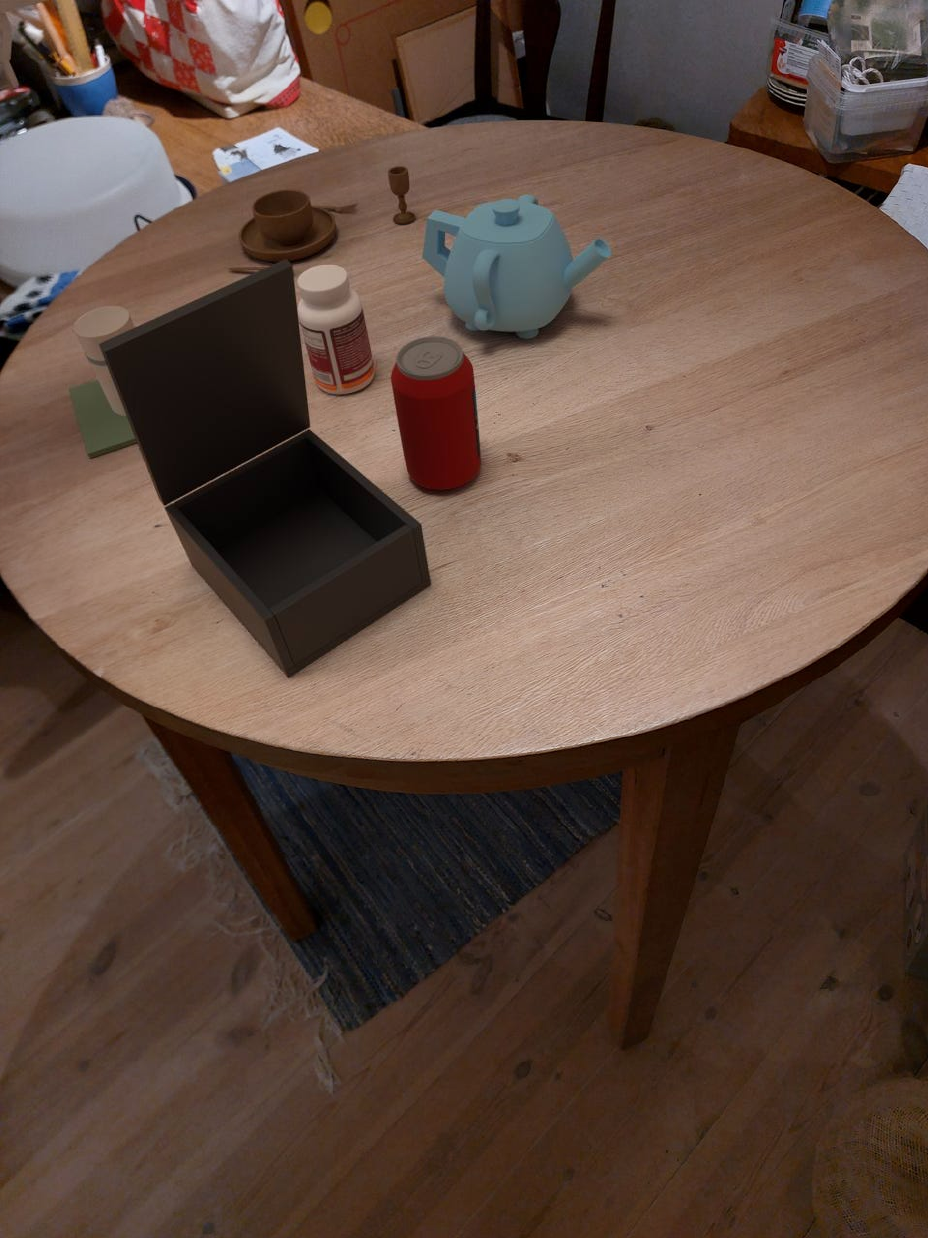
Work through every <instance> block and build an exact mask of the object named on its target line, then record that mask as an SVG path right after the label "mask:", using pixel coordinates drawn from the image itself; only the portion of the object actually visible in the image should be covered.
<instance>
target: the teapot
mask: <svg viewBox="0 0 928 1238" xmlns="http://www.w3.org/2000/svg"><path fill="white" fill-rule="evenodd" d="M446 234H448V235H451V236H453V237H455V238H454V241H453V243H452V246H451V248H450V249H449V248H448V247H447V246H446ZM611 256H612V249H611V247H610V245H609V243H608V242H607V241H606V240H604V239H603V238H601V237H596V238H594V239H593V241H592V242H590V244H588V245H587V246H586V247H585V248H584V249H583V250H582V251H581V252H580V253H579V254H578V255H577V256H576V257H573V253H572V249H571V245H570V242H569V240H568V239H567V236H566V234H565V231H564V230H563V228H562V226H561V223H560V222H559V221H558V219H557V218H556V216H555V214H554V213H553V211H552V210H550V209H549V208H547V207H545V206H542V205H539V200H538V199H537V197H536V196H535V195H532V194H522V195H521V196H519V197H518V198H517V199H514V198H501V199H499V200H496V201H489V202H484V203H481V204H479V205H478V206H476V207H475V208H474V209H472V210H471V211H470V212H469V213H468V215H467V216H466V217H465V216H461V215H457V214H453V213H449V212H445V211H441V210H438V209H434V211H432V212H431V214H430V215H429V216H428V217H427V219H426V226H425V235H424V242H423V249H422V256H421V258H422V259H423V260H424V261H425V262H427V264H429V265H430V267H432V268H433V270H435V271H436V272H437V273H438V274H439V275H441V276H442V277H443V294H444V300H445V302H446V304H447V306H448V308H449V309H450V310H451V311H452V313H454V315H455V316H456V317H458V318H459V319H460V320H461V321H463V322H465V328H466V329H467V330H469V331H473V332H476V331H477V332H478V331H488V330H489V331H494V332H506V333H507V332H511V333H512V332H515V334H516V336H517V337H518V338H520V339H532V338H536V336H538V334H539V332H540V331H539V329H541V328H543V327H546V325H548V324H550V323H551V322H553V320H554V319H555V318H556V317H557V316H558V315H559V313H560V312H561V310H562V309H563V308H564V306H565V305H566V303H567V302H568V300H569V298H570V297H571V295H572V292H573V289H574V288H575V287H576V286H578V285H579V284H580V283H581V282H583V280H585V279H586V278H587V277H588V276H589V275H590V274H592V273H593V272H594V271H595V270H597V269H598V268H599V267H600V266H601V265H603V263H605V262H606V261H607V260H608V259H610V258H611Z"/></svg>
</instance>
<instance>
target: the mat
mask: <svg viewBox="0 0 928 1238" xmlns="http://www.w3.org/2000/svg"><path fill="white" fill-rule="evenodd" d="M68 391H69V392H68V393H69V395H70V398H71V402H72V406H73V409H74V412H75V416H76V419H77V423H78V428H79V430H80V433H81V437H82V441H83V444H84V447H85V452H86V455H87V457H88V458H89V459H93V458H96V457H99V456H103V455H105V454H108V453H111V452H114V451H116V450H120V449H123V448H126V447H128V446H131V445H134V444H137V441H136V439H135V436H134V433H133V431H132V428H131V426H130V423H129V421H128V418H127V416H121V415H118V414H116V413H115V412H114V411H113V410H112V408H111V406H110V404H109V402H108V400H107V398H106V395H105V393H104V391H103V389H102V387H101V385H100V383H99V381H98V379H94V380H92V381H88V382H86V383H85V382H84V383H82V384H79V385H76V386H72V387H70V388H68Z"/></svg>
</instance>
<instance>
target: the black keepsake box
mask: <svg viewBox="0 0 928 1238" xmlns="http://www.w3.org/2000/svg"><path fill="white" fill-rule="evenodd" d="M164 510H165V512H166V515H167V517H168V519H169V521H170V523H171V525H172V527H173V529H174V531H175V533H176V535H177V537H178V539H179V542H180V543H181V546H182V548H183V550H184V553H185V554H186V557H187V558H188V561H189V563H190V565H191V567H192V568H193V569H194V570H195V572H196V573H197V574H198V575H199V576H200V577H201V579H203V581H204V582H205V583H206V584H207V586H209V588H210V589H211V590H212V591H213V592H214V593H215V595H216V596H217V597H218V598H219V600H220V601H221V602H222V603H223V604H224V605H225V606H226V607H227V609H228V610H229V611H230V612H231V613H232V614H233V616H234V617H235V618H236V619H237V620H238V621H239V623H240V624H241V625H242V626H243V627H244V629H245V630H246V631H247V632H248V633H249V634H250V635H251V637H252V638H253V639H254V640H255V641H256V642H257V643H258V645H259V646H260V647H261V649H263V650H264V652H265V653H266V654H267V655H268V656H269V657H270V659H271V660H272V661H273V662H274V663H275V664H276V666H277V667H278V668H279V669H280V671H282V672H283V674H284V675H285V676H286V677H287V678H291V677H292V676H294V675H295V674H297V673H298V672H299V671H301V670H303V669H305V668H306V667H307V666H309V665H310V664H312V663H313V662H315V661H317V660H318V659H320V658H321V657H322V656H325V655H326V654H327V653H328V652H330V651H332V650H333V649H335V648H337V647H338V646H339V645H341V644H343V643H344V642H345V641H347V640H348V639H350V638H352V637H354V635H356V634H358V633H359V632H360V631H363V630H364V629H365V628H367V627H369V626H371V625H372V624H373V623H375V622H376V621H377V620H379V619H381V618H382V617H384V616H385V615H387V614H388V613H390V612H391V611H393V610H394V609H396V608H397V607H399V606H401V605H402V604H404V603H405V602H406V601H409V600H410V599H412V598H413V597H414V596H416V595H418V594H419V593H421V592H422V591H424V590H425V589H427V588H428V587H430V586H431V585H432V580H431V574H430V569H429V562H428V556H427V551H426V546H425V545H426V544H425V539H424V533H423V526H422V523H421V522H420V521H418V520H417V519H416V518H415V517H413V515H411V514H410V513H409V511H406V509H404V508H403V507H402V506H401V505H400V504H399V503H397V502H396V501H395V500H394V499H393V498H391V497H390V496H389V495H388V494H387V493H386V492H384V491H383V490H382V489H381V488H379V487H378V486H377V485H376V484H375V483H374V482H372V481H371V480H370V479H369V478H367V476H366V475H364V474H363V473H362V472H360V470H358V469H357V468H356V467H355V466H354V465H352V464H351V462H349V461H348V460H346V459H345V457H343V456H342V455H341V454H339V453H338V452H337V450H335V449H334V448H333V447H332V446H330V445H329V443H326V441H324V440H323V439H322V438H320V436H318V435H317V434H316V433H315V432H314V431H313V430H312V429H310V428H308V429H306V430H304V431H302V432H301V433H299V434H297V435H295V436H293V437H291V438H289V439H288V440H286V441H284V442H282V443H280V444H278V445H277V446H275V447H273V448H271V449H269V450H267V451H265V452H264V453H262V454H260V455H258V456H256V457H254V458H252V459H251V460H249V461H247V462H245V463H243V464H241V465H240V466H238V467H236V468H234V469H232V470H230V471H228V472H227V473H225V474H223V475H221V476H219V477H217V478H215V479H214V480H212V481H210V482H208V483H206V484H204V485H203V486H201V487H199V488H197V489H195V490H193V491H191V492H190V493H188V494H186V495H184V496H182V497H180V498H178V499H177V500H175V501H173V502H171V503H169V504H167V505H166V506H164Z"/></svg>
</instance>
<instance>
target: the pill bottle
mask: <svg viewBox="0 0 928 1238" xmlns="http://www.w3.org/2000/svg"><path fill="white" fill-rule="evenodd" d="M350 285H351V284H350V279H349V275H348V272H347V270H346V269H345V268H343V267H342V266H340V265H336V264H322V265H315V266H312V267H310V268H308V269H305V270H304V271H303V272H302V273H301V274H300V275H299V276H298V278H297V288H298V292H299V295H300V297H301V299H300V300H299V302H298V303H297V311H298V320H299V327H300V329H301V333H302V336H303V341H304V344H305V348H306V352H307V356H308V359H309V363H310V366H311V367H310V368H311V371H312V375H313V378H314V381H315V383H316V385H317V387H318V388H319V389H321V390H322V391H323V392H325V393H328V394H330V395H349V394H353V393H355V392H358V391H361V390H363V389H364V388H366V387H367V386H368V385H369V384H370V383H371V382H372V381H373V379H374V376H375V374H376V368H375V367H376V366H375V362H374V356H373V354H372V353H373V352H372V347H371V342H370V338H369V333H368V327H367V323H366V318H365V314H364V313H365V312H364V308H363V304H362V300H361V298H360V296H359V294H358V293H357V292H356V291H355V290H354V289H352V288H351V286H350Z"/></svg>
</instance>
